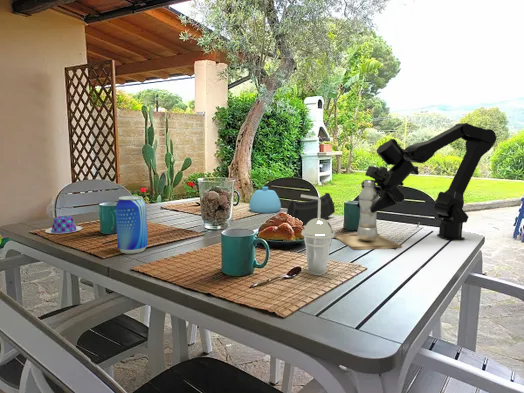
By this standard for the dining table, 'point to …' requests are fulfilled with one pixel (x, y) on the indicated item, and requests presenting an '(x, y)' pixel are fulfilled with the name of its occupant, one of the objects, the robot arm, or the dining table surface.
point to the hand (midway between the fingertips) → (364, 209)
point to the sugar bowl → (265, 201)
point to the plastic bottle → (367, 212)
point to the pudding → (63, 225)
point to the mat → (366, 242)
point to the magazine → (311, 209)
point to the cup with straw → (317, 241)
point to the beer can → (131, 224)
